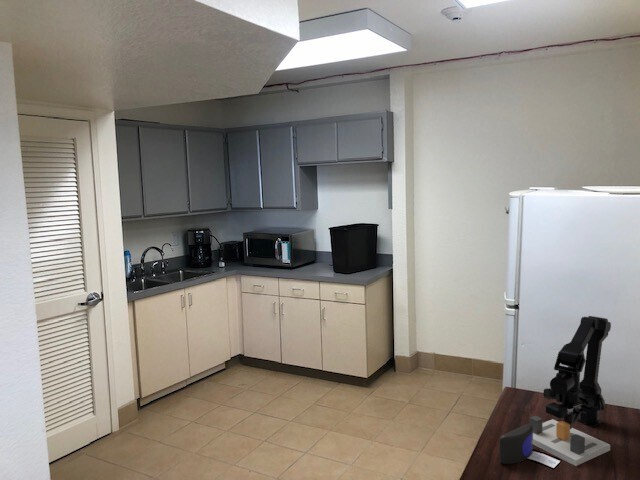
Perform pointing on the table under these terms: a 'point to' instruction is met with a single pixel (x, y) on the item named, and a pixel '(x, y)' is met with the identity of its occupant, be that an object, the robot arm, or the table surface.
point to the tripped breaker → (563, 430)
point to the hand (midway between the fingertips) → (569, 428)
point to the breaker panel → (566, 442)
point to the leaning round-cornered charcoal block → (516, 445)
